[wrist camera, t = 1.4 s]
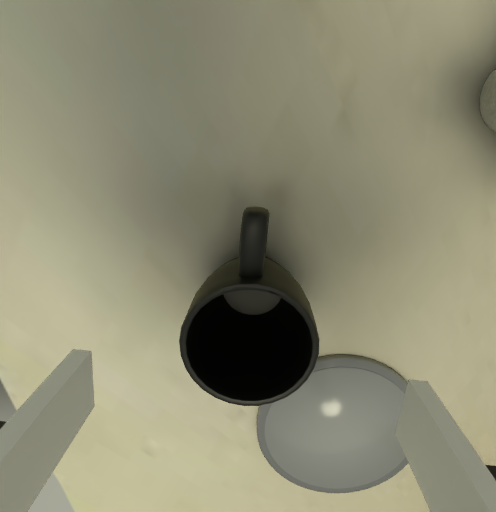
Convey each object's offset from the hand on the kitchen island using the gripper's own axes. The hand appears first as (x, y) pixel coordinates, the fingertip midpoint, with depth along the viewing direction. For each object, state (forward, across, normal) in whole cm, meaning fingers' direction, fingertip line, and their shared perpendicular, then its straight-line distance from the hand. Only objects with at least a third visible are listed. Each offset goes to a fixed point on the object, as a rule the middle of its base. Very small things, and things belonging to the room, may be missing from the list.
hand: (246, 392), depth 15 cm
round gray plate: (+16, +9, -15) cm, 23 cm away
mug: (+16, 0, 0) cm, 16 cm away
